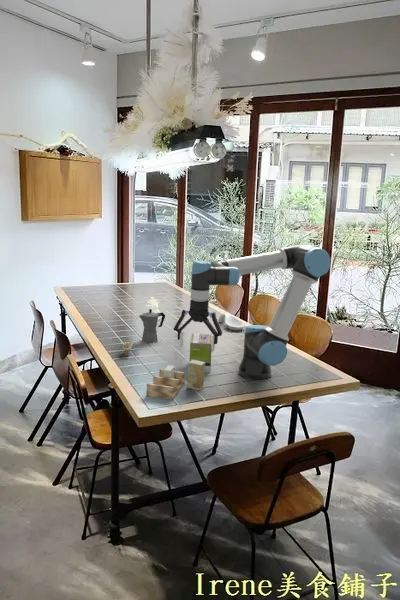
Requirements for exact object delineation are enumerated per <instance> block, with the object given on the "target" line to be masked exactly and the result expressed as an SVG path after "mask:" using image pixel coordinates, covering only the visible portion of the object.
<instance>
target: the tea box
mask: <svg viewBox="0 0 400 600" xmlns="http://www.w3.org/2000/svg"><path fill="white" fill-rule="evenodd" d="M190 337H191V338H190V343H189V362H190V361H191V360H197V361H202V362H205V373H204V374H206V373H207V374H210V373H211V366H212V352H211V349H212V333H211V334H210V333H191V336H190Z"/></svg>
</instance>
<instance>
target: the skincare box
mask: <svg viewBox="0 0 400 600" xmlns="http://www.w3.org/2000/svg"><path fill="white" fill-rule="evenodd" d="M205 374H206V373H205V362H202V361H197V360H191V361H190V360H189V361H188V365H187V378H186V379H187V381H186V388H187V389H192V390H198V391H201V390H202V389H203V388H204V384H205Z"/></svg>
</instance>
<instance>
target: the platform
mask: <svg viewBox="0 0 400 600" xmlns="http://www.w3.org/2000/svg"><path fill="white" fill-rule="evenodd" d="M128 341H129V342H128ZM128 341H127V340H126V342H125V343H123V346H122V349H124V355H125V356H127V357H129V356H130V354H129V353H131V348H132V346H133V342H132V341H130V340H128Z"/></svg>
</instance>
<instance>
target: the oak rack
mask: <svg viewBox="0 0 400 600" xmlns="http://www.w3.org/2000/svg"><path fill="white" fill-rule="evenodd" d="M158 375H159V376H158ZM158 375H157V376H155V375H154V376H153V377H152V378H153V381H152V383H146V397H150V398H151V397H152V398H157V399H164V400H165V399H166V400H173V401H174V399H175V397H176V396H177V395H178V394H179V392H180V391H181V389H182V387H183V386H184V384H185V375H186V374H185V372H182V371H176V370H175V377H174V379H172V378H165V377H164V369H159V373H158Z"/></svg>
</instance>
